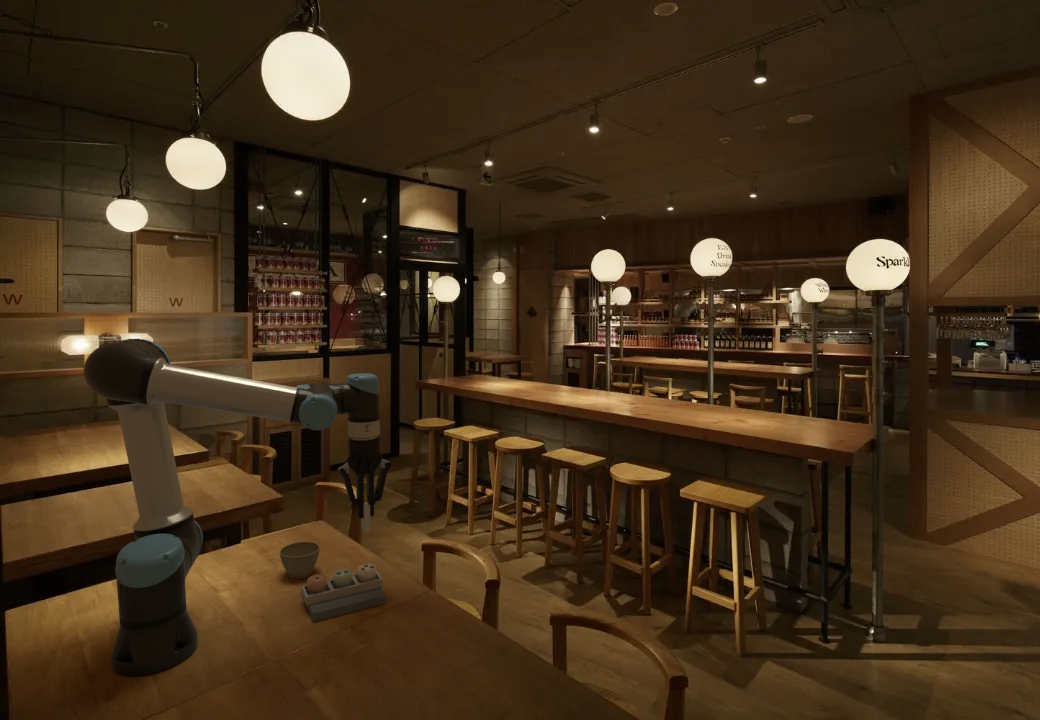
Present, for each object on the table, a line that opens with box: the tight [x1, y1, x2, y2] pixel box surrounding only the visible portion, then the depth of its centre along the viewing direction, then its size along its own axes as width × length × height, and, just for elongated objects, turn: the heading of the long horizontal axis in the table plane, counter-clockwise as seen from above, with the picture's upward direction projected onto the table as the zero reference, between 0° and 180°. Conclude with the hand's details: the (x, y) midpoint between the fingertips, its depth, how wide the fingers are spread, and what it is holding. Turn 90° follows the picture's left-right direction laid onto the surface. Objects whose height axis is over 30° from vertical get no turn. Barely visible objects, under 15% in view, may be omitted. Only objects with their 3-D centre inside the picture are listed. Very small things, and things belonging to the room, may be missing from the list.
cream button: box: [357, 563, 377, 581], centre depth 145 cm, size 4×4×3 cm
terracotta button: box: [306, 573, 328, 593], centre depth 139 cm, size 4×4×3 cm
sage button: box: [332, 568, 353, 587], centre depth 142 cm, size 4×4×3 cm
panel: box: [300, 569, 387, 623], centre depth 143 cm, size 18×15×4 cm
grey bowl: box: [279, 541, 321, 580], centre depth 154 cm, size 10×10×7 cm
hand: (366, 529), depth 144 cm, fingers closed
